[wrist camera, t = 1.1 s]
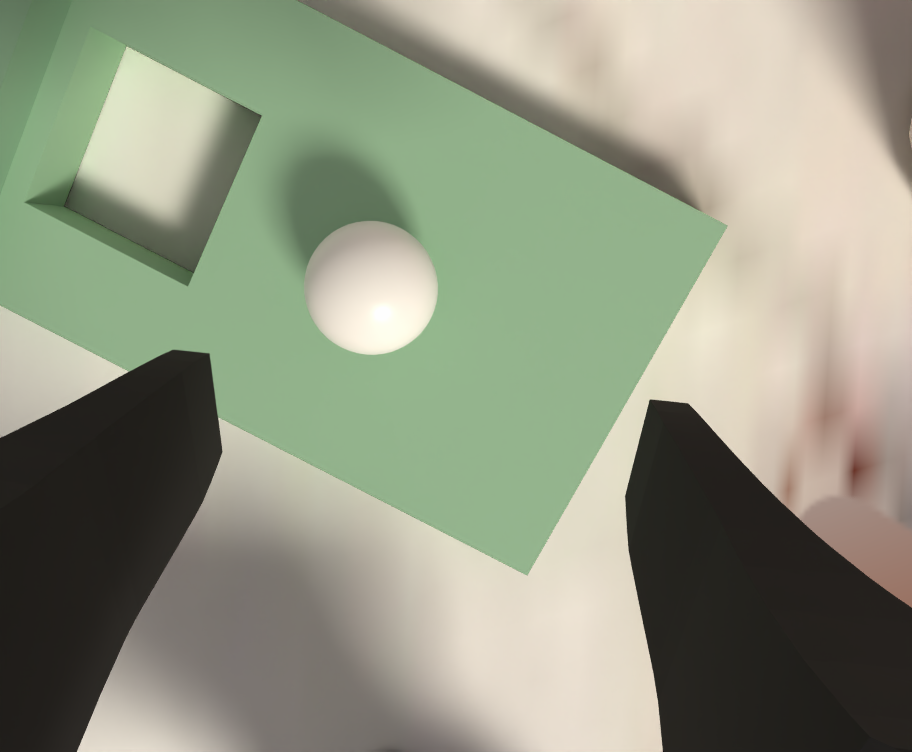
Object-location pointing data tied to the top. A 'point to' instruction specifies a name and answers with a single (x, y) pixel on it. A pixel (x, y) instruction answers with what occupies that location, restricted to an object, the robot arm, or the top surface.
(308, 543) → the top surface
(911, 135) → the supplement can
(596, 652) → the top surface
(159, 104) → the top surface
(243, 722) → the top surface
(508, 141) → the green holed board
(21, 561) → the robot arm
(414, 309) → the ball
